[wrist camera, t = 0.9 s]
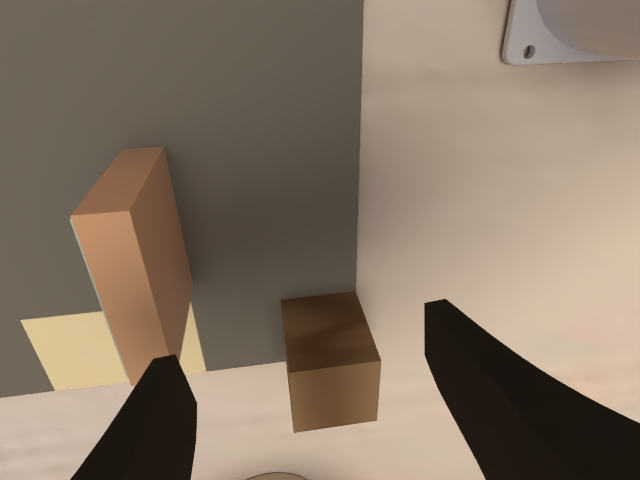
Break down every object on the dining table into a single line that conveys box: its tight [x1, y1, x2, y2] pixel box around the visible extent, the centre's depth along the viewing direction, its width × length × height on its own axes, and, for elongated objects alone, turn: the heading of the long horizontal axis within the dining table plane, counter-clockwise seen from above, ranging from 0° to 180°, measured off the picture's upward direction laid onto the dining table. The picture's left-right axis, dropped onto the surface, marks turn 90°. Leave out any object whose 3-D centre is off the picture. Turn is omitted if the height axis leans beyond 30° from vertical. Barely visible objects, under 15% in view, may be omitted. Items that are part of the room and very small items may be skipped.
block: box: [281, 291, 381, 433], centre depth 21 cm, size 4×4×5 cm
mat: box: [0, 0, 364, 398], centre depth 19 cm, size 20×19×1 cm
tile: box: [70, 146, 193, 386], centre depth 16 cm, size 2×7×6 cm, turn 1°
